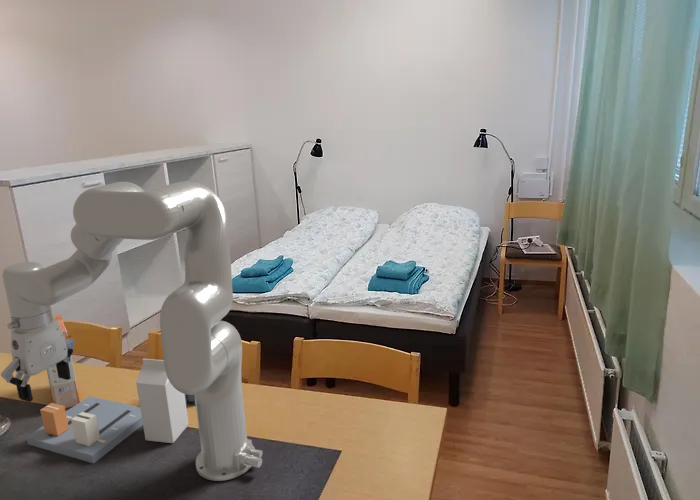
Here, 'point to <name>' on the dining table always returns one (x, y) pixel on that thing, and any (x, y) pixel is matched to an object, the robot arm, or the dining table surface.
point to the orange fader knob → (54, 419)
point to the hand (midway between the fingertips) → (46, 388)
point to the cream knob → (85, 428)
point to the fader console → (112, 425)
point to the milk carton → (160, 403)
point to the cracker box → (63, 380)
